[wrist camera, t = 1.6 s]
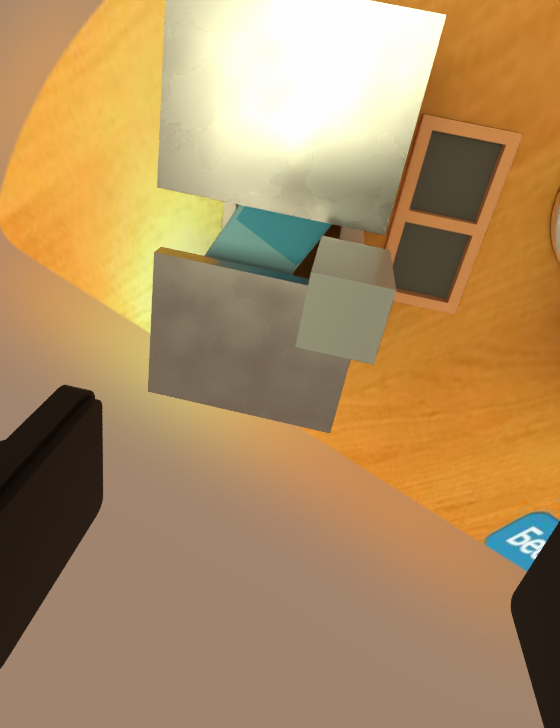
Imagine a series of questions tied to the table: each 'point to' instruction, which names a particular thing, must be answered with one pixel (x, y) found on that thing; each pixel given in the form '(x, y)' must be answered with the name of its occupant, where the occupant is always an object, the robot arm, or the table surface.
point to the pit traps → (446, 208)
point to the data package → (267, 239)
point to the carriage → (345, 296)
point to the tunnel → (276, 179)
